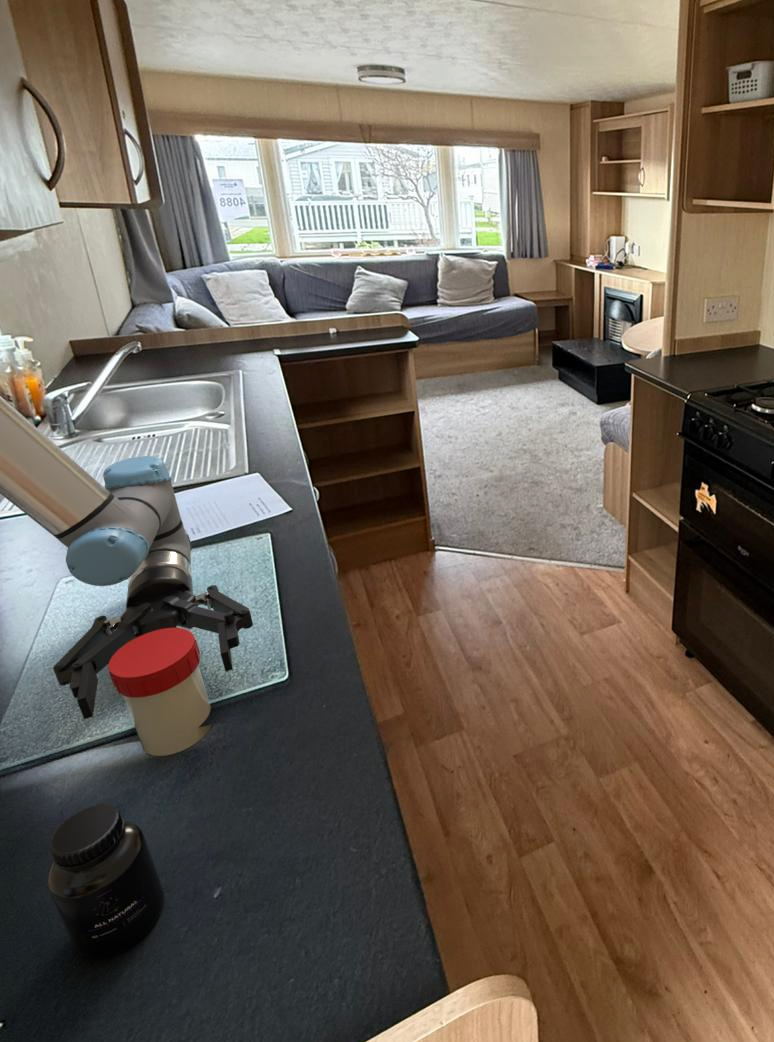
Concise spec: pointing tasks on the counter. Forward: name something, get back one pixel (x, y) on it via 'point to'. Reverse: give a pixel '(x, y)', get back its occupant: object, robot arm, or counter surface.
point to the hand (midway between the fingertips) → (158, 684)
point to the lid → (154, 662)
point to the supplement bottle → (103, 881)
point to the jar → (171, 716)
